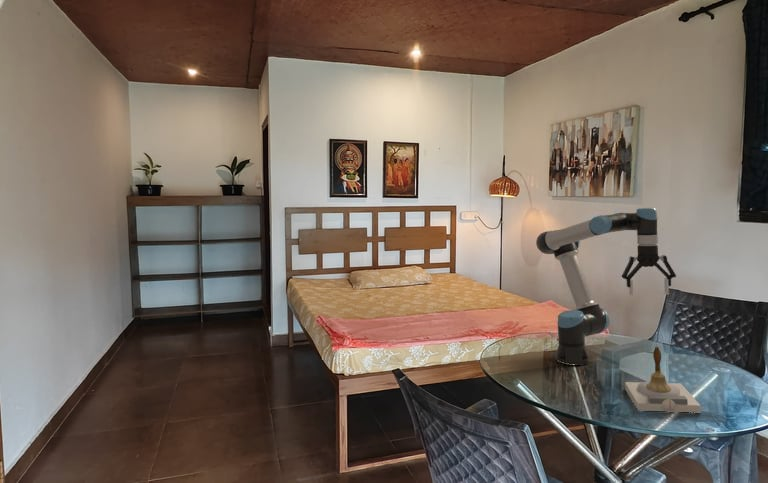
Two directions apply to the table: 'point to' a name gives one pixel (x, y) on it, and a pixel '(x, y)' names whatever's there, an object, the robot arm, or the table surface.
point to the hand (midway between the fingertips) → (648, 294)
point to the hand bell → (658, 376)
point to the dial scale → (662, 398)
